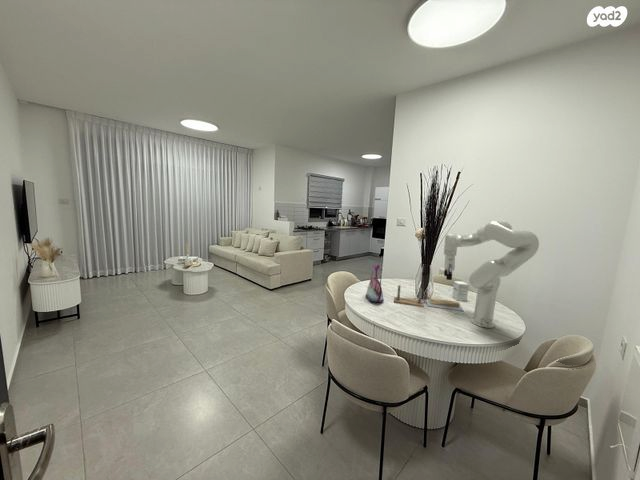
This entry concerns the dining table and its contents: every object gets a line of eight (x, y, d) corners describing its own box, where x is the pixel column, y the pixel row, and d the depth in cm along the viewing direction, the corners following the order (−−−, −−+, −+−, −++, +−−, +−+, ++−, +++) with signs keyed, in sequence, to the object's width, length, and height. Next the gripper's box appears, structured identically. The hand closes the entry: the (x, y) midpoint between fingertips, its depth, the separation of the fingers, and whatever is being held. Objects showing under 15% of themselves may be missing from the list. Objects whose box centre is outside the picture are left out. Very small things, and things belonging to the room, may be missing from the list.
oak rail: (459, 307, 178) (459, 303, 177) (430, 303, 183) (430, 299, 182) (458, 306, 181) (458, 301, 180) (429, 302, 186) (430, 298, 185)
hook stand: (423, 306, 178) (425, 292, 177) (394, 302, 184) (395, 288, 182) (422, 301, 188) (424, 287, 186) (394, 297, 193) (395, 284, 192)
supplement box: (451, 297, 200) (453, 280, 198) (461, 297, 200) (463, 281, 198) (456, 300, 193) (458, 283, 191) (467, 301, 193) (469, 284, 191)
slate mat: (463, 311, 173) (463, 310, 173) (427, 306, 179) (427, 305, 179) (459, 305, 185) (460, 304, 185) (425, 300, 191) (426, 299, 191)
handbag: (363, 294, 198) (365, 261, 195) (376, 294, 200) (378, 261, 196) (372, 305, 177) (375, 268, 174) (386, 305, 179) (389, 268, 175)
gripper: (459, 255, 167) (456, 281, 169) (453, 251, 184) (451, 275, 186) (446, 254, 169) (443, 280, 172) (442, 250, 186) (439, 274, 188)
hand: (447, 277), depth 179 cm, fingers open, 9 cm apart
